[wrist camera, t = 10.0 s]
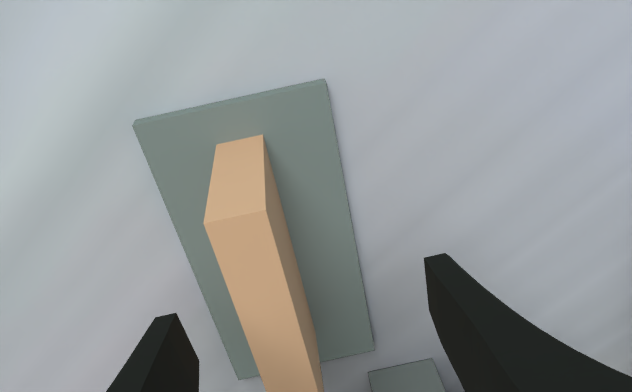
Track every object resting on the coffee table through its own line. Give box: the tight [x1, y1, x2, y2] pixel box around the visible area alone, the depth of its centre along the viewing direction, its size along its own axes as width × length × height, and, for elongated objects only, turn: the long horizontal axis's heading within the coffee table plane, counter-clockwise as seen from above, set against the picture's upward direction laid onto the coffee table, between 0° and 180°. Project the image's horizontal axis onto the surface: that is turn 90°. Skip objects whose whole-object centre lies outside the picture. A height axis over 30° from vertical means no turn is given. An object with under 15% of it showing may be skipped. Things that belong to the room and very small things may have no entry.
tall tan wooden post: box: [203, 135, 324, 392], centre depth 21 cm, size 2×12×6 cm, turn 11°
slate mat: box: [132, 79, 375, 380], centre depth 24 cm, size 8×16×1 cm, turn 11°
